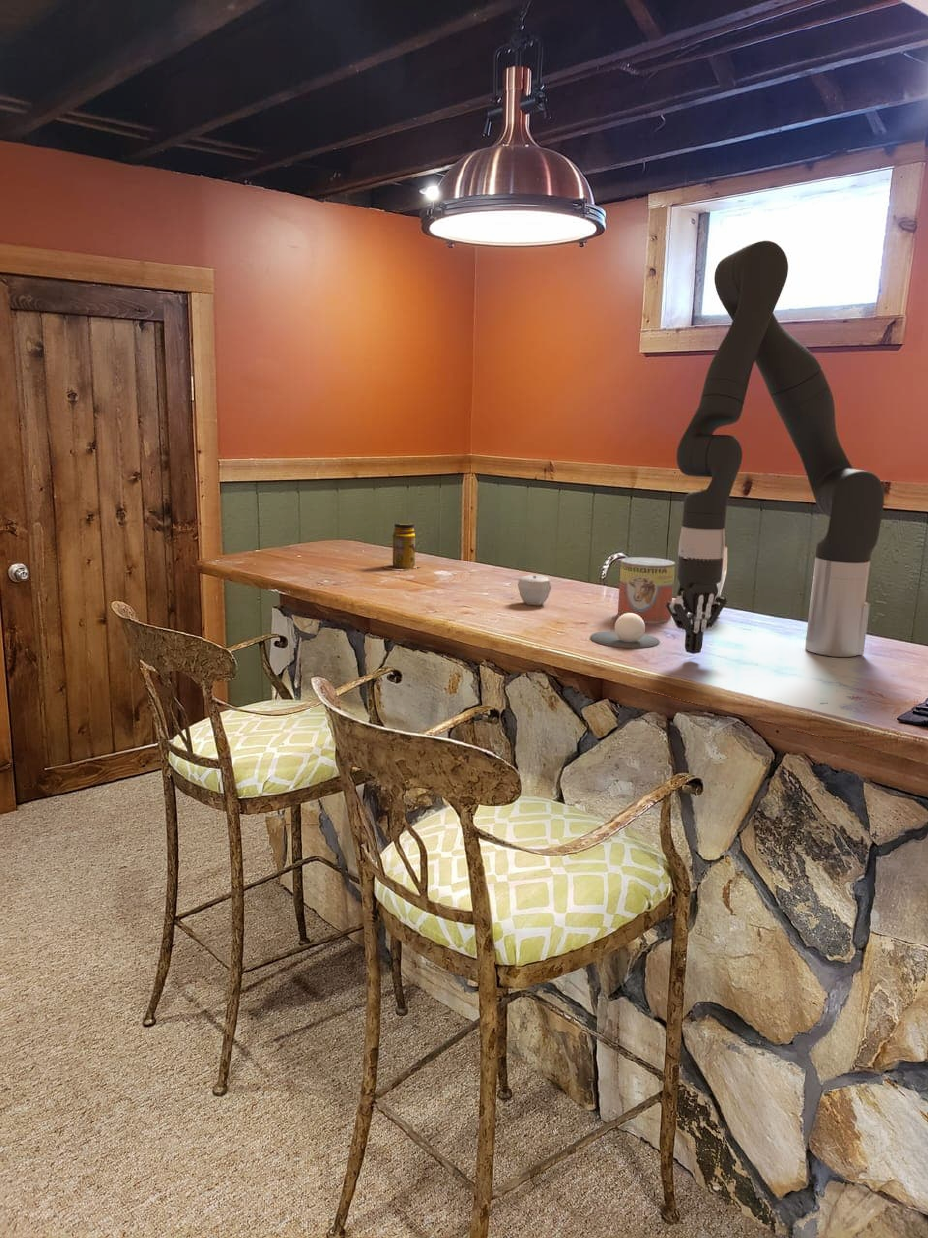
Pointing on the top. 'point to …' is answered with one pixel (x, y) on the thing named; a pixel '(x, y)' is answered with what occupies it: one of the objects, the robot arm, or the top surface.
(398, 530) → the condiment
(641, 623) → the ball
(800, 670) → the top surface
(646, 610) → the canned food
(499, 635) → the top surface
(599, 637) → the disc
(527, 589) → the apple
